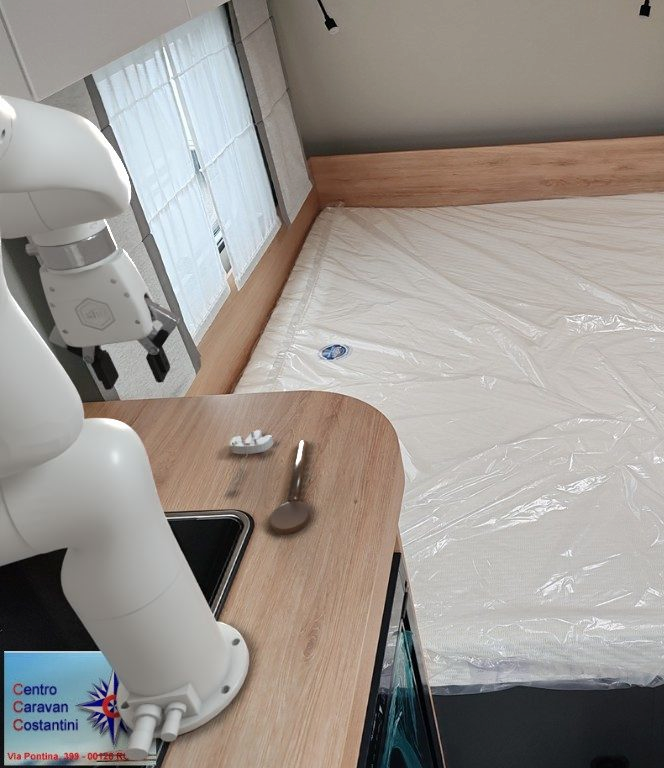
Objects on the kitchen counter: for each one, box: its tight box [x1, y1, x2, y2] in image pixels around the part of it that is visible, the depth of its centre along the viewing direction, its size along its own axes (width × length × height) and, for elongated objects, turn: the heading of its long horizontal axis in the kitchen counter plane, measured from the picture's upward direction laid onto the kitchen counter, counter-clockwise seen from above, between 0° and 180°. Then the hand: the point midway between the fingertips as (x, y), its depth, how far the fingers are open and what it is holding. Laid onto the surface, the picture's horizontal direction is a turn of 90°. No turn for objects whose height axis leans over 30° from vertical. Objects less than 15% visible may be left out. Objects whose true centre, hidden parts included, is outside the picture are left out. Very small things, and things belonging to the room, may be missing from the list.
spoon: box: [270, 439, 312, 535], centre depth 98 cm, size 17×5×1 cm, turn 7°
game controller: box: [229, 429, 275, 495], centre depth 103 cm, size 6×12×3 cm, turn 16°
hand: (137, 378), depth 95 cm, fingers open, 5 cm apart
